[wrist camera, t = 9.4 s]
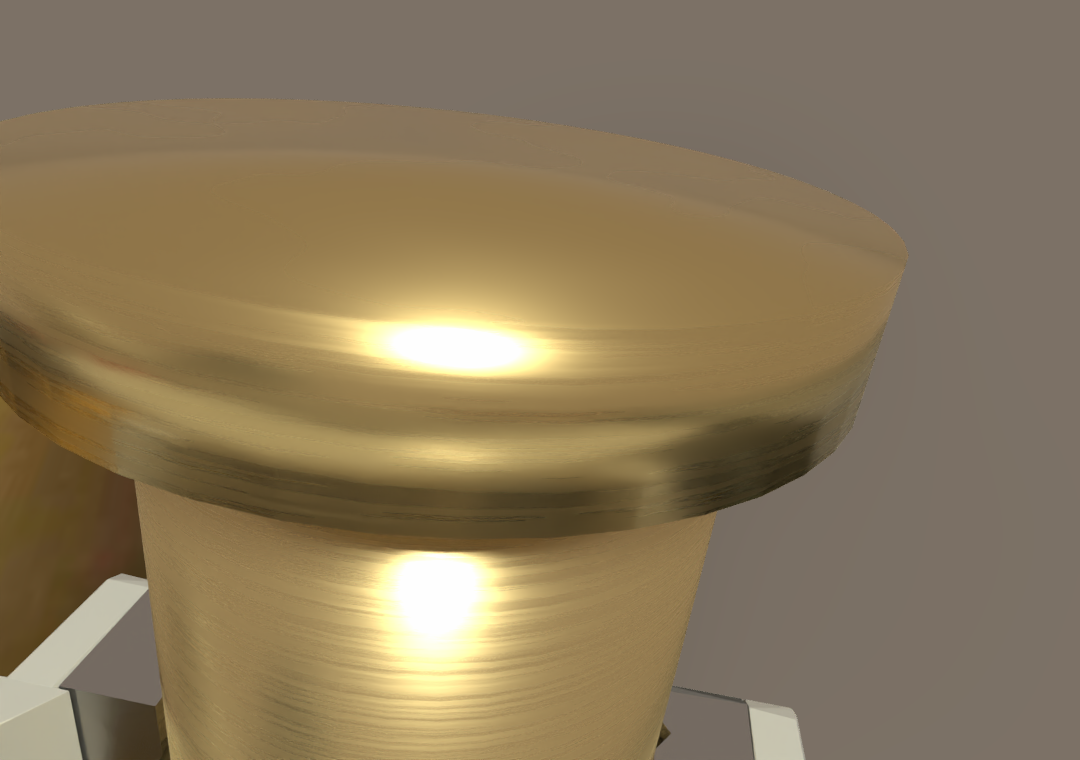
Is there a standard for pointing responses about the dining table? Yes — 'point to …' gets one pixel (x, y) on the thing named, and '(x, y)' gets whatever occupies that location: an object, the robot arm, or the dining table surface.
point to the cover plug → (424, 402)
